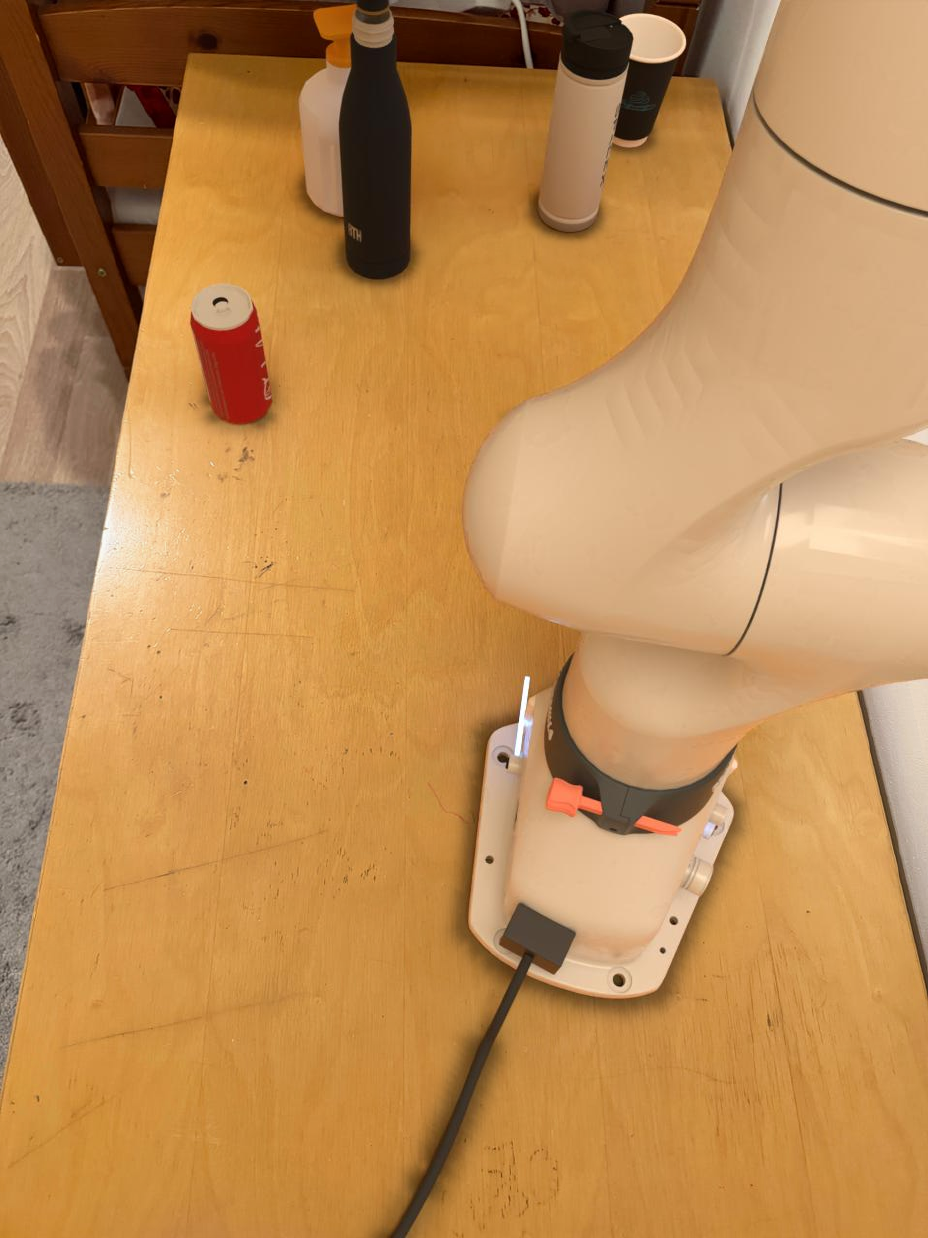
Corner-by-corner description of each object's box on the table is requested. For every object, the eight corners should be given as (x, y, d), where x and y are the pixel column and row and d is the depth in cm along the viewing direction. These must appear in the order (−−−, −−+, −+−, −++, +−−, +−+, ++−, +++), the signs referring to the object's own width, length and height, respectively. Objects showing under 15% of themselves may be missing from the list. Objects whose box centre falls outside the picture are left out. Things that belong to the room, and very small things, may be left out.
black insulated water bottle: (414, 237, 102) (419, -85, 76) (405, 283, 99) (408, -37, 73) (351, 230, 102) (334, -95, 76) (340, 275, 99) (320, -48, 73)
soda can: (280, 417, 90) (264, 319, 80) (220, 433, 89) (196, 335, 79) (262, 372, 93) (245, 271, 82) (204, 387, 91) (178, 286, 81)
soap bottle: (297, 168, 106) (272, -87, 84) (381, 155, 108) (377, -98, 86) (317, 226, 102) (296, -26, 81) (404, 211, 104) (406, -38, 82)
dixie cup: (618, 165, 109) (639, 68, 100) (576, 123, 112) (593, 25, 103) (675, 142, 112) (702, 46, 102) (633, 102, 115) (654, 4, 105)
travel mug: (524, 201, 106) (549, 9, 88) (579, 186, 107) (614, -6, 90) (551, 240, 103) (582, 51, 86) (607, 224, 105) (649, 35, 87)
